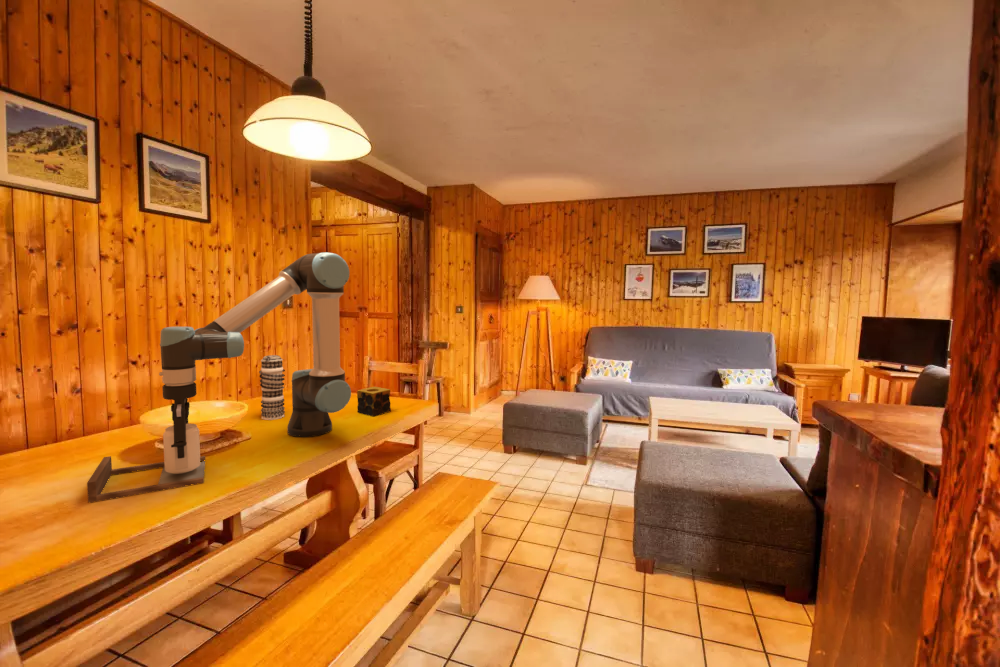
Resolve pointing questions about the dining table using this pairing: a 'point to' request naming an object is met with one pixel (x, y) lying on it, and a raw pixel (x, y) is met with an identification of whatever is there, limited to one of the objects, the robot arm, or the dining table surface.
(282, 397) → the decorative candle
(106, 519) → the dining table surface
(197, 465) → the beverage can
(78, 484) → the dining table surface
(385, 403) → the dark patterned box
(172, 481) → the dark frame
